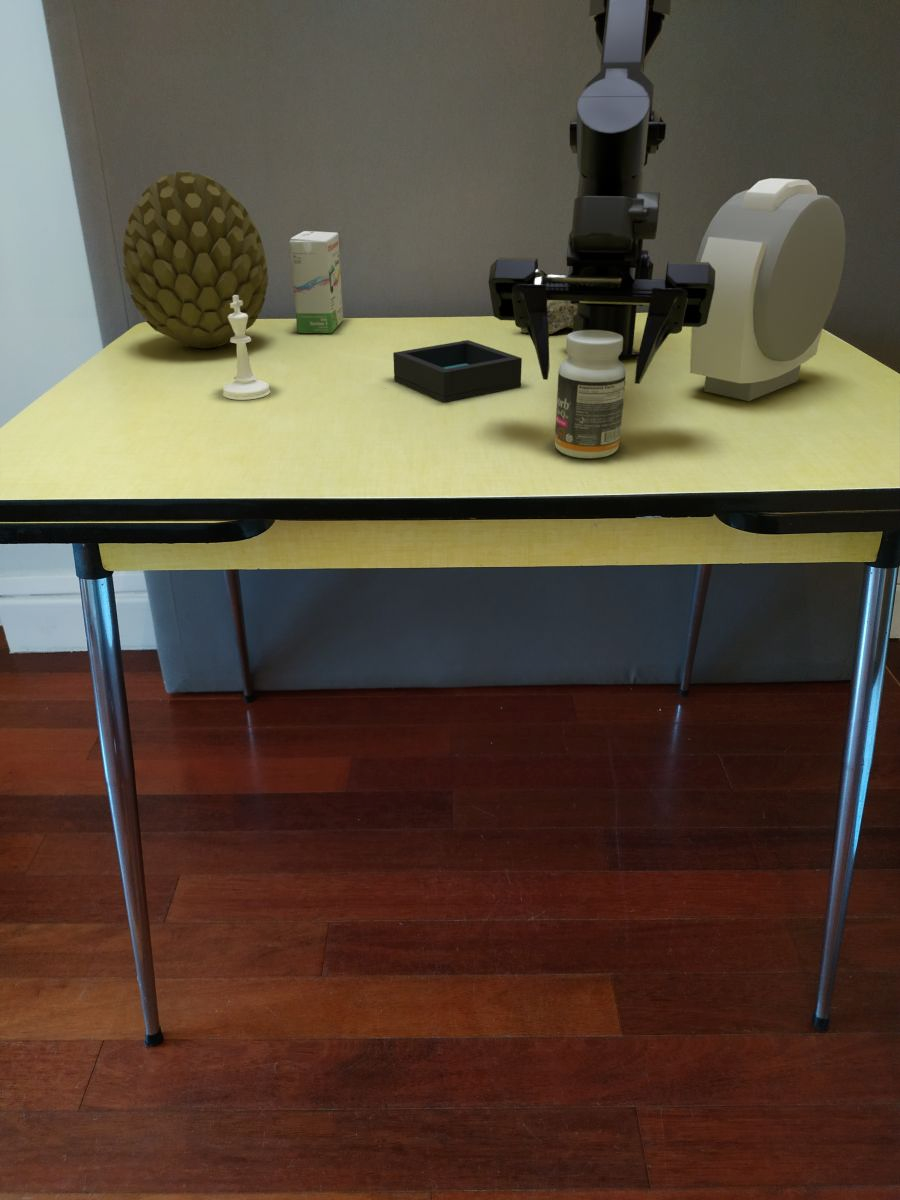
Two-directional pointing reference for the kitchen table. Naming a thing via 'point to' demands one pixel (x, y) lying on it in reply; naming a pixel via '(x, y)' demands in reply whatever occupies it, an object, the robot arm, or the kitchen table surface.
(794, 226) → the alarm clock
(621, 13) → the robot arm
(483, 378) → the socket pad
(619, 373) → the pill bottle
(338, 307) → the ink box
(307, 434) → the kitchen table surface
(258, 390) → the chess piece
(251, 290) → the decorative object
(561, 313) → the rock
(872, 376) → the kitchen table surface
